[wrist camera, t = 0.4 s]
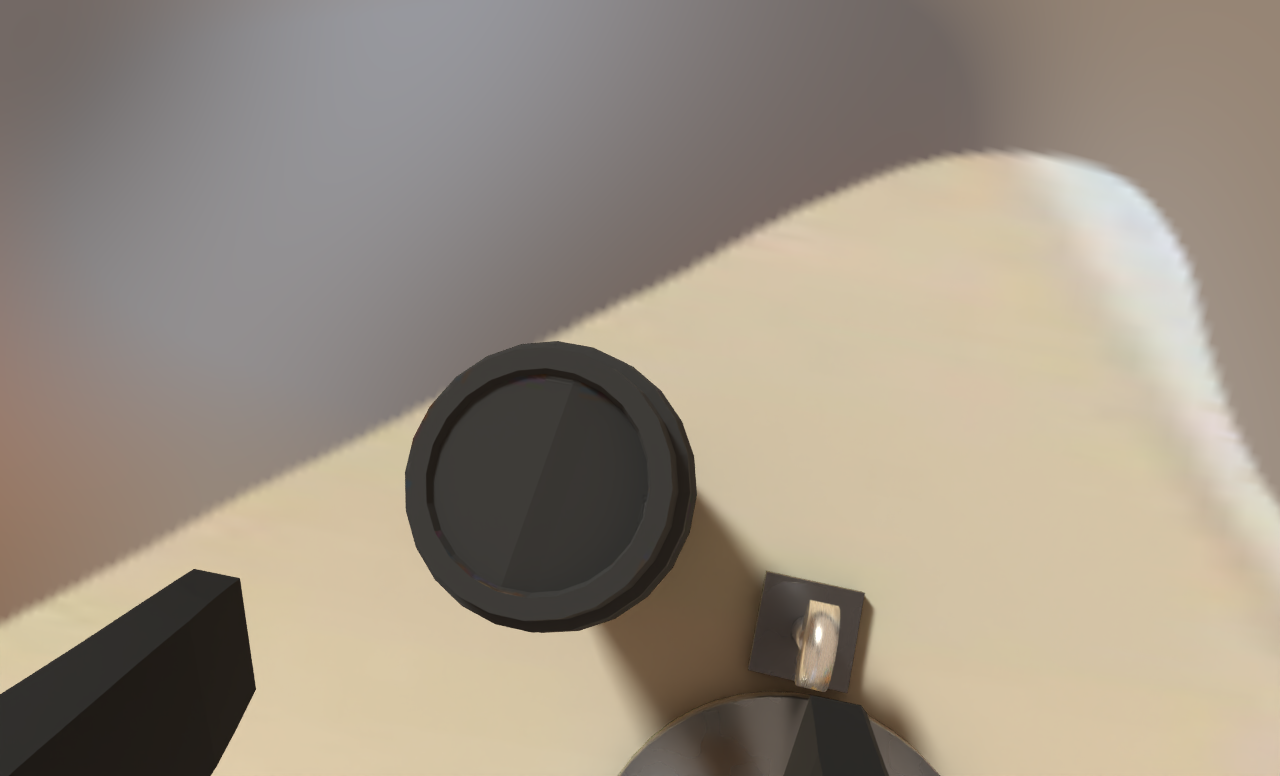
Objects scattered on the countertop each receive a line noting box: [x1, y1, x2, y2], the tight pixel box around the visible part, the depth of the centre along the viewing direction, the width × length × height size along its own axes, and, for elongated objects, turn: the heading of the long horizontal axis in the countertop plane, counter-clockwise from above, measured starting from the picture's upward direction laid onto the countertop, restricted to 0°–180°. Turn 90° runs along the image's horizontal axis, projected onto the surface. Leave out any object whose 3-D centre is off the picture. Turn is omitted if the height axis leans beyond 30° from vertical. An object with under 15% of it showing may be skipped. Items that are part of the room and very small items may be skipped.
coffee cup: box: [405, 341, 697, 633], centre depth 31 cm, size 8×8×15 cm
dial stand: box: [748, 571, 865, 693], centre depth 33 cm, size 4×4×7 cm
